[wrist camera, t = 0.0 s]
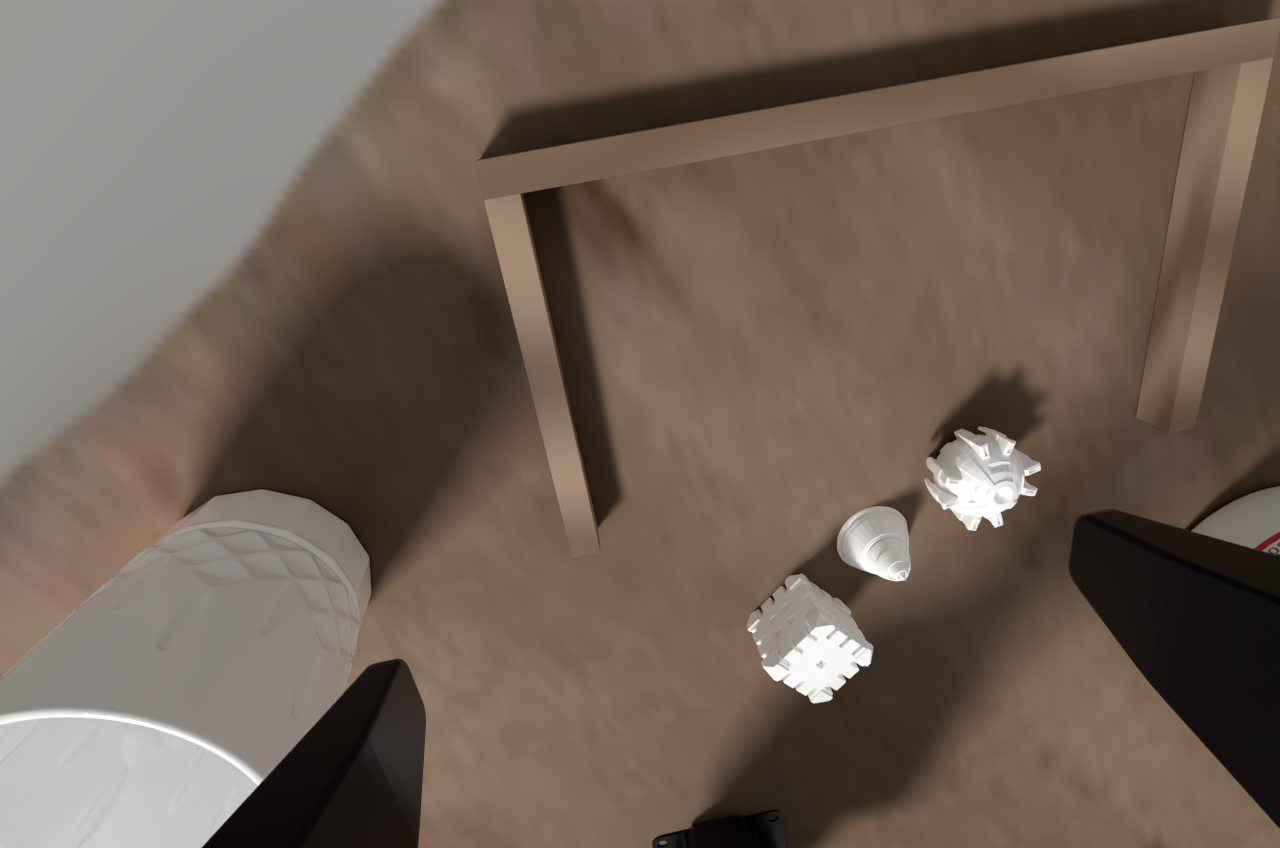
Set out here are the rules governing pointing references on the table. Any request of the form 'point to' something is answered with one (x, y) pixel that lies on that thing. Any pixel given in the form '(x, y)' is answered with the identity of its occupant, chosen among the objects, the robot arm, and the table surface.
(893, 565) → the game pieces
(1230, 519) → the fruit juice
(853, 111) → the rail corral
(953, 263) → the table surface
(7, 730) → the white cup
